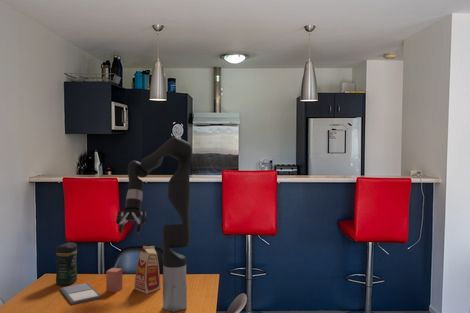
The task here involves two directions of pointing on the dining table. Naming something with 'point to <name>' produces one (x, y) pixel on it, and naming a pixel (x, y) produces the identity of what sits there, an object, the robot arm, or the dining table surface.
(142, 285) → the milk carton
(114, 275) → the pink rectangular block
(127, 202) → the robot arm
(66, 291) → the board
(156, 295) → the dining table surface
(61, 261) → the coffee jar
